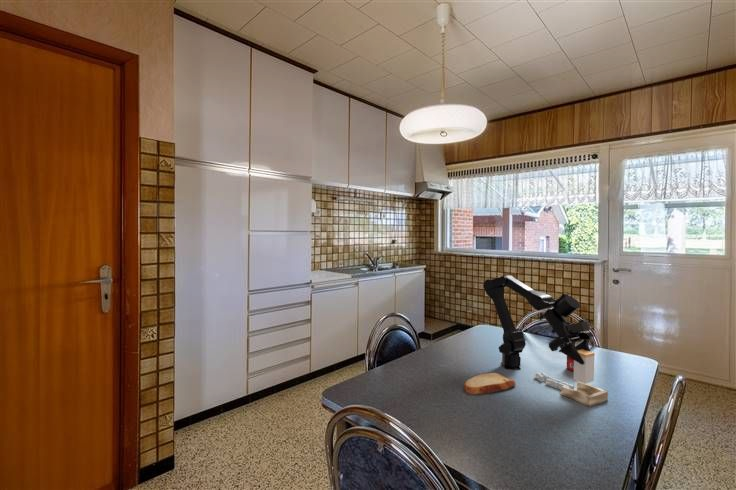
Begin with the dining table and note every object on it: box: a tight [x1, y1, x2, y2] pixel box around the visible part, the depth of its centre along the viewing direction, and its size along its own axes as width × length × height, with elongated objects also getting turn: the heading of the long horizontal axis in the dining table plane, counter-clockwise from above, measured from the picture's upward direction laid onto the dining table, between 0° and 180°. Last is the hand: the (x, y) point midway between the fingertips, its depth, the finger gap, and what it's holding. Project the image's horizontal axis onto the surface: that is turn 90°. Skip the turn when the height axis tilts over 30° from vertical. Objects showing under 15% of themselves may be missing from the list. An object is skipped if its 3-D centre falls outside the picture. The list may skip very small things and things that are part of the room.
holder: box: [559, 381, 609, 408], centre depth 121 cm, size 10×10×3 cm
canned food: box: [566, 345, 576, 373], centre depth 145 cm, size 8×8×11 cm
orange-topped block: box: [573, 349, 596, 384], centre depth 121 cm, size 4×5×10 cm
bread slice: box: [463, 372, 516, 395], centre depth 129 cm, size 18×18×4 cm
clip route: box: [534, 371, 575, 391], centre depth 131 cm, size 6×14×2 cm, turn 21°
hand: (587, 362), depth 119 cm, fingers closed on orange-topped block, 5 cm apart
